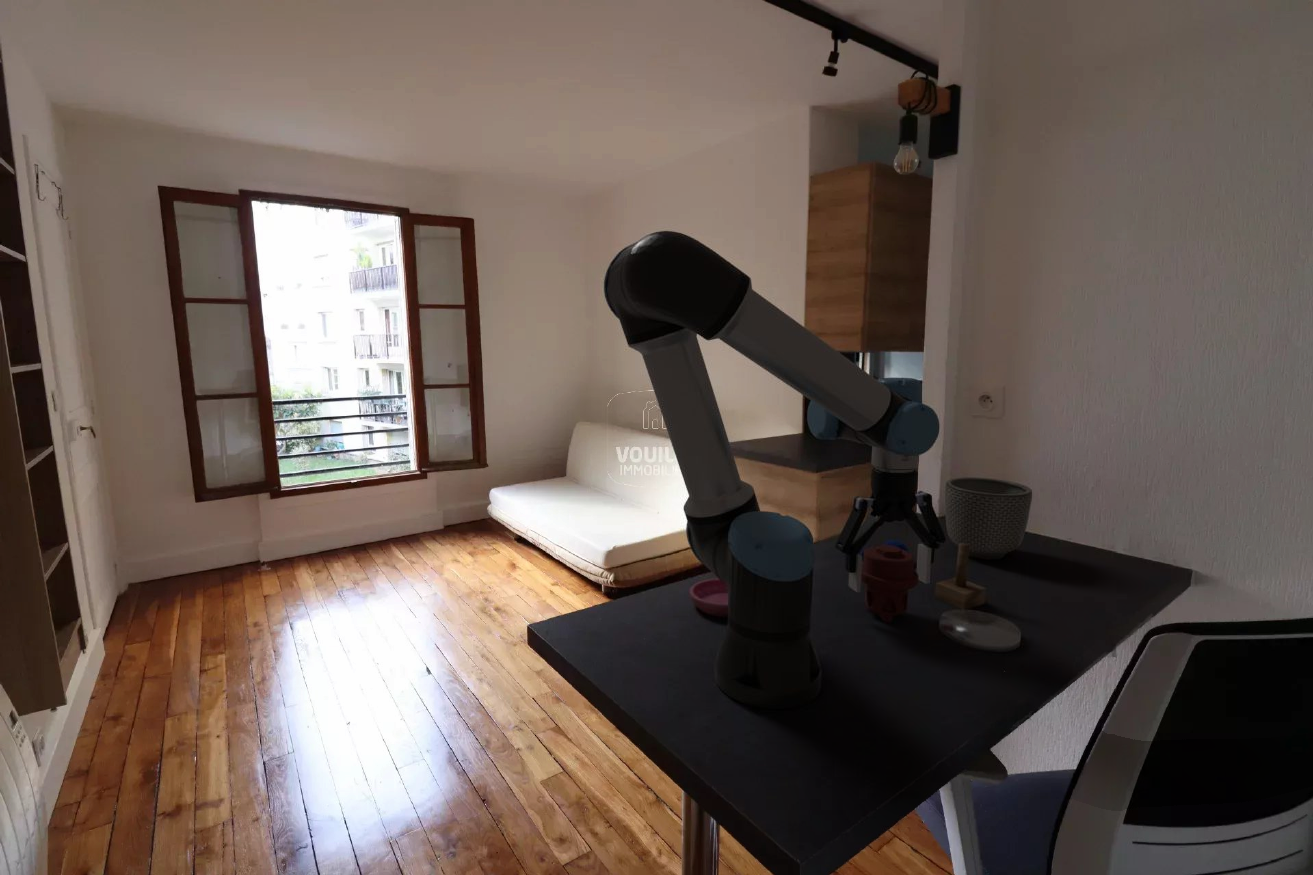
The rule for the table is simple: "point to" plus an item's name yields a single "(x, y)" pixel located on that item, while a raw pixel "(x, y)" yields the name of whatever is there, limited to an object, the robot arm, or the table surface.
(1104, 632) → the table surface
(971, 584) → the brown wooden peg block
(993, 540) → the planter
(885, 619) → the mechanical component
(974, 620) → the grey round disc
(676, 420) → the robot arm
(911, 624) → the table surface
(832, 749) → the table surface
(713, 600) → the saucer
